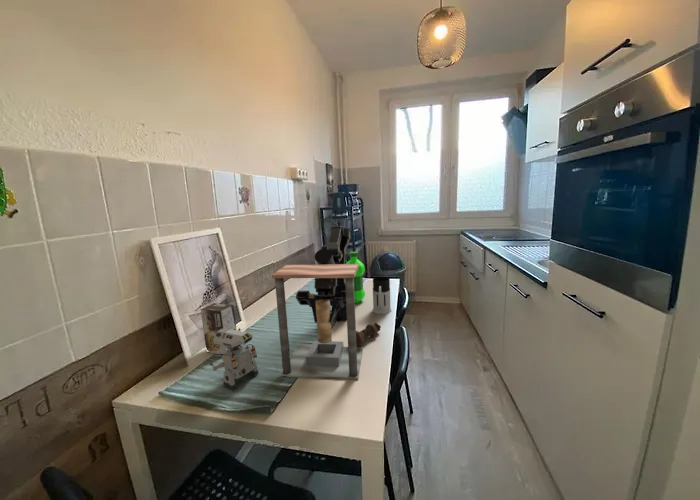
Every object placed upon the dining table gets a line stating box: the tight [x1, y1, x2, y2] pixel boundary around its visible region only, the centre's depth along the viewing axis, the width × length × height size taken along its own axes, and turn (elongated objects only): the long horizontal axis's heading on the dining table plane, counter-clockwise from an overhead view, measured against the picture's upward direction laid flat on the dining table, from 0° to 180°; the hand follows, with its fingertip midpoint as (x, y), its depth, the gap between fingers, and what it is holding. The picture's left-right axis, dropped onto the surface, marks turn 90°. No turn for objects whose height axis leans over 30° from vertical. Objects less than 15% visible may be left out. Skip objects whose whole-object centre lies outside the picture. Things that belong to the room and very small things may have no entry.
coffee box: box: [200, 302, 237, 355], centre depth 103 cm, size 9×6×16 cm
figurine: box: [209, 328, 259, 391], centre depth 85 cm, size 9×12×15 cm
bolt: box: [356, 322, 381, 347], centre depth 107 cm, size 6×5×15 cm
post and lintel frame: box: [271, 263, 364, 380], centre depth 91 cm, size 18×23×31 cm
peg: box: [316, 299, 333, 344], centre depth 93 cm, size 4×4×13 cm
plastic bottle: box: [345, 251, 366, 304], centre depth 146 cm, size 10×10×25 cm
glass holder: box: [372, 276, 393, 315], centre depth 131 cm, size 9×14×15 cm, turn 170°
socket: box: [306, 340, 345, 366], centre depth 95 cm, size 10×10×4 cm
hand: (322, 322), depth 92 cm, fingers closed on peg, 4 cm apart
